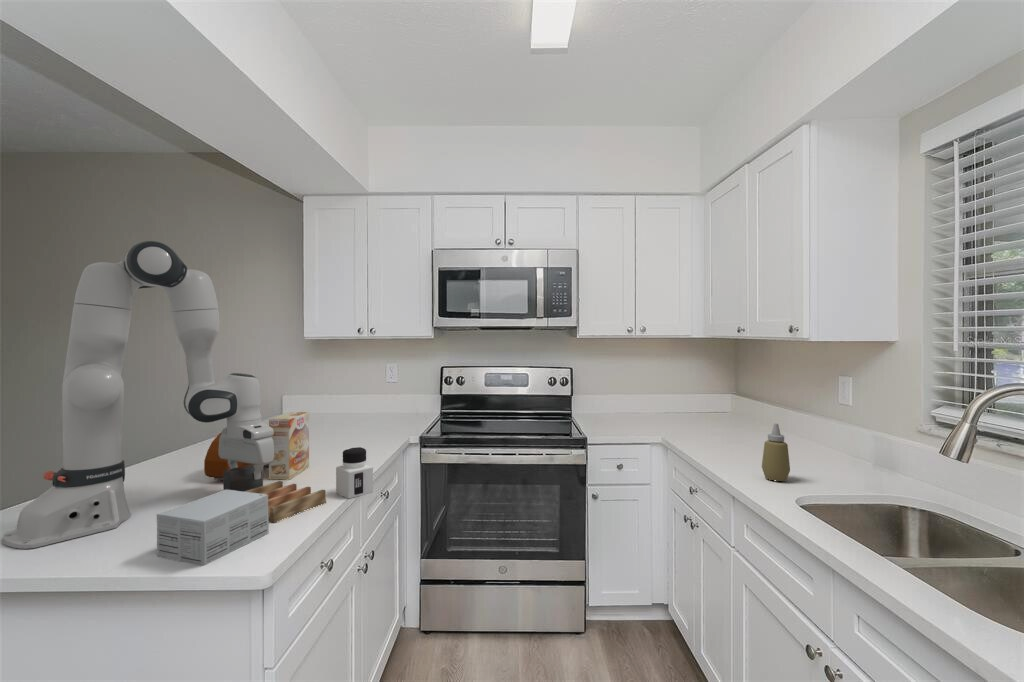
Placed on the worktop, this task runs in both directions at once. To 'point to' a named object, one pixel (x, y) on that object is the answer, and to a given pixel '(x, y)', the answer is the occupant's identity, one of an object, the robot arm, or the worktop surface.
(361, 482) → the container
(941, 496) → the worktop surface
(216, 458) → the orange rounded block
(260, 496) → the supplement box
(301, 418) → the coffeecake box
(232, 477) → the block
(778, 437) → the squeeze bottle
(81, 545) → the worktop surface
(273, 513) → the rack
